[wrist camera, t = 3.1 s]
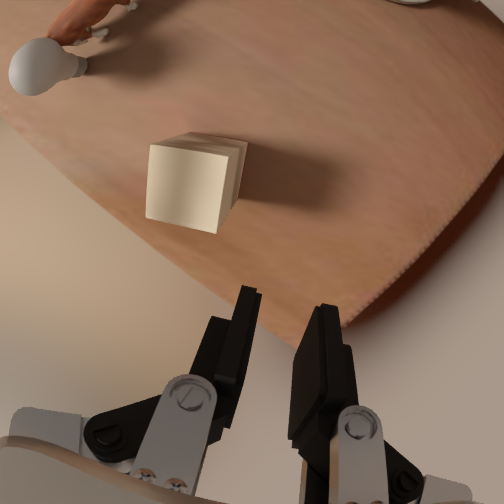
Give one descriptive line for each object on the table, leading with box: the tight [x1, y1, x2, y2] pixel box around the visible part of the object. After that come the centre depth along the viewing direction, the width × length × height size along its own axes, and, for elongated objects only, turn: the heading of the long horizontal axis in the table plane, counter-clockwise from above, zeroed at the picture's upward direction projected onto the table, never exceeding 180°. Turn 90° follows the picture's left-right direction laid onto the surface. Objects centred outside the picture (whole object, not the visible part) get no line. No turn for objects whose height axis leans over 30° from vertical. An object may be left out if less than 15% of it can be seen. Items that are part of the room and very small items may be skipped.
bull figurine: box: [45, 0, 139, 46], centre depth 18 cm, size 4×13×8 cm, turn 115°
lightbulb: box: [9, 37, 87, 96], centre depth 20 cm, size 6×6×11 cm
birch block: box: [146, 132, 248, 233], centre depth 25 cm, size 6×6×9 cm
